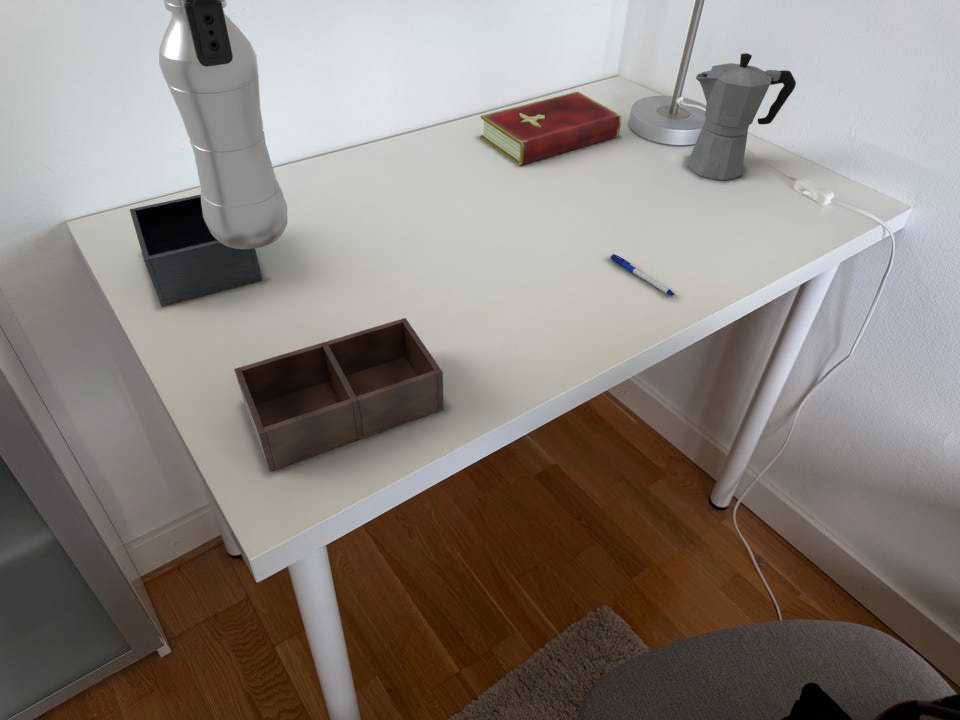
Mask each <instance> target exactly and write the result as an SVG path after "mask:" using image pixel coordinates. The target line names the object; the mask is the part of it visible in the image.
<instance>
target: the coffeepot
mask: <svg viewBox="0 0 960 720" xmlns="http://www.w3.org/2000/svg"><path fill="white" fill-rule="evenodd" d="M752 57H753V55H752V54H750V53H747V52H746V53H745V52H744V53H740V60H739V63H733V62H728V63H723V64H717V65H712V66H711V69H710V70H707V71H706V70H705V71H701V72H700V73H698V74H697V75H696V76H695V80H696V81H698V82H699V84H700V86H701V89H702V92H703V96H704V98H705V102H706V104H705V113H704V117H705V119H704V123H703V125H702V128H701V130H700V132H699V134H698V136H697V139H696V142H695V144H694V146H693V149H691V153H690V155H689V158H688V161H687V164H686V166H687V167H688V169H689V170H690V171H691V172H693V174H695V175H697V176H700V177H702V178H704V179H709V180H714V181H731V180H735V179H737V178H738V177H741V176H742V174H743V167H744V160H745V154H746V147H747V141H748V134H749V128H750V125H753V122H754V120H755V118H756V116H757V114H758V111H759V109H760V107H761V106H762V103H763V101H764V98H765V96H766V95H767V92H768V91H769V88H770V87H771V86H772V85H774V86H775V85H779V84H783V87H782V88H781V89H780V91H779V92H778V94H777V96H776V99H775V100H774V102H773V103H772V104H771V106H770V107H769V110H768V112H767V114H766V116H765V117H758V118H757V124H758V125H770V124H771V123H772V122H773V121H774V119H775V118H776V116H777V115H778V113H779V111H780V110H781V109H782V108H783V106H784V104H785V103H786V102H787V100H788V98H789V97H790V95H791V94H792V93H793V92H794V90H795V88H796V84H797V81H796V79H795V77H794V76H793V74H792V72H791V71H790V70H787V69H785V70H784V69H783V70H778V69H767V70H763V69H761V68H759V67H758V66H754V65H749V63H750V61H751V59H752Z"/></svg>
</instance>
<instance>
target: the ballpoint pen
mask: <svg viewBox="0 0 960 720" xmlns="http://www.w3.org/2000/svg"><path fill="white" fill-rule="evenodd" d="M610 260H612V261H613V262H614V263H616V264H617V265H619V266H621V267H622V268H624V269H626V270H628V271H629V272H630V273H633V274H634V275H636V276H638V277H639V278H641V279H642V280H644V281H645V282H647V283H649V284H650V285H652V286H654V287H656V289H659V290H660V291H661V292H663V293H665V294H667V295H670V296H671V297H673V296H674V295H675V293H674V292H673V290H671V289H670V288H668V287H667V286H665V285H664V284H662V283H661V282H659V281H657V280H656V279H654V278H652V277H651V276H649V275H647V274H646V273H644V272H642V271H641V270H639V269H637V268H636V267H635V266H633V265H631V262H629V261H628V260H626V259H625V258H623V257H622V256H619V255H617V254H614V253H613V254H611V255H610Z"/></svg>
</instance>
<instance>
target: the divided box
mask: <svg viewBox="0 0 960 720" xmlns="http://www.w3.org/2000/svg"><path fill="white" fill-rule="evenodd" d="M233 371H234V374H235V378H236V381H237V383H238V387H239V390H240V393H241V397H242V400H243V403H244V407H245V410H246V412H247V415H248V417H249V420H250V423H251V426H252V429H253V431H254V433H255V436H256V439H257V441H258V444H259V447H260V450H261V453H262V455H263V458H264V460H265V463H266V465H267V468H268V471H269V472H272V471H275V470H278V469H280V468H283V467H286V466H289V465H292V464H295V463H298V462H301V461H304V460H306V459H309V458H312V457H314V456H317V455H319V454H322V453H326V452H328V451H331V450H334V449H336V448H339V447H342V446H345V445H349V444H350V443H353V442H356V441H359V440H362V439H365V438H368V437H370V436H372V435H375V434H378V433H382V432H384V431H387V430H389V429H392V428H395V427H397V426H401V425H403V424H406V423H409V422H412V421H414V420H417V419H420V418H424V417H426V416H429V415H432V414H435V413H437V412H439V411H442V410H444V372H443V370H442V369H441V367H440V366H439V364H438V363H437V362H436V359H434V357H433V356H432V355H431V352H430V351H429V350H428V348H427V347H426V346H425V344H424V343H423V341H422V340H421V338H420V337H419V335H418V333H417V332H416V330H415V329H414V327H412V325H411V324H410V322H409V321H408V319H407V317H404V318H400V319H396V320H393V321H390V322H386V323H383V324H380V325H376V326H373V327H370V328H366V329H363V330H360V331H357V332H354V333H350V334H347V335H343V336H340V337H337V338H333V339H330V340H327V341H324V342H319V343H315V344H313V345H309V346H306V347H302V348H300V349H297V350H293V351H289V352H287V353H282V354H279V355H277V356H273V357H269V358H265V359H263V360H259V361H256V362H252V363H249V364H246V365H241V366H240V367H235V368H234V369H233Z"/></svg>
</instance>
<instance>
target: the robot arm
mask: <svg viewBox="0 0 960 720" xmlns="http://www.w3.org/2000/svg"><path fill="white" fill-rule="evenodd" d="M223 1H224V0H182V3H183V5H184V8H185V12H186V16H187V20H188V24H189V28H190V33H191V37H192V41H193V45H194V49H195V53H196V57H197V59H198V61H199V62H200V64H201V65H203V66H206V67H208V66H215V65H222V64H228V63H230V62H231V61H232V59H233V55H232V50H231V45H230V41H229V36H228V31H227V26H226V22H225V17H224V13H225V11H224V12H223V10H224V8H222V3H221V2H223Z"/></svg>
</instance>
